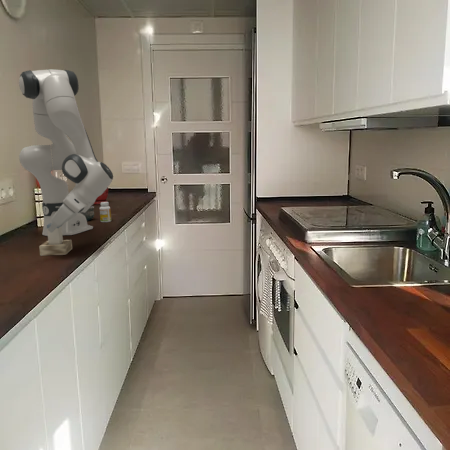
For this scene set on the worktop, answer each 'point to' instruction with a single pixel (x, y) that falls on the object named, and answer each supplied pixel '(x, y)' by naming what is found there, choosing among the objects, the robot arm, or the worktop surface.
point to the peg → (55, 236)
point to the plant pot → (102, 197)
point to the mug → (89, 213)
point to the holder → (55, 248)
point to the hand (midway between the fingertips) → (54, 228)
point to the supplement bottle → (105, 212)
